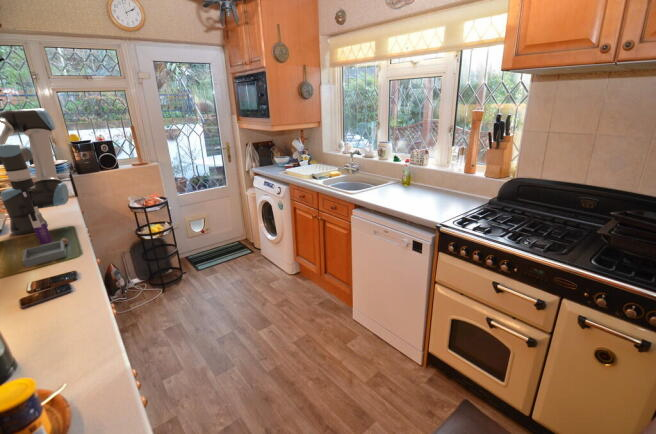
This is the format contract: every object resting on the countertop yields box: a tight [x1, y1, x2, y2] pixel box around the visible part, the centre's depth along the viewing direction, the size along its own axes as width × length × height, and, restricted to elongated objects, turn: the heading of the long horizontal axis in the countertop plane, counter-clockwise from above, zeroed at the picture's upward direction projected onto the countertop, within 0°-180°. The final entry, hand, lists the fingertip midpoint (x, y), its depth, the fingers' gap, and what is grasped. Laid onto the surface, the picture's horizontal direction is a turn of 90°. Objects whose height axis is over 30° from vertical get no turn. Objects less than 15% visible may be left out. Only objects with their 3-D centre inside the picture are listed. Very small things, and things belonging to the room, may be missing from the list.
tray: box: [21, 239, 67, 268], centre depth 146 cm, size 14×14×3 cm
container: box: [29, 212, 53, 246], centre depth 157 cm, size 5×5×15 cm
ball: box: [59, 237, 69, 246], centre depth 157 cm, size 3×3×3 cm
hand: (38, 223), depth 156 cm, fingers open, 13 cm apart
